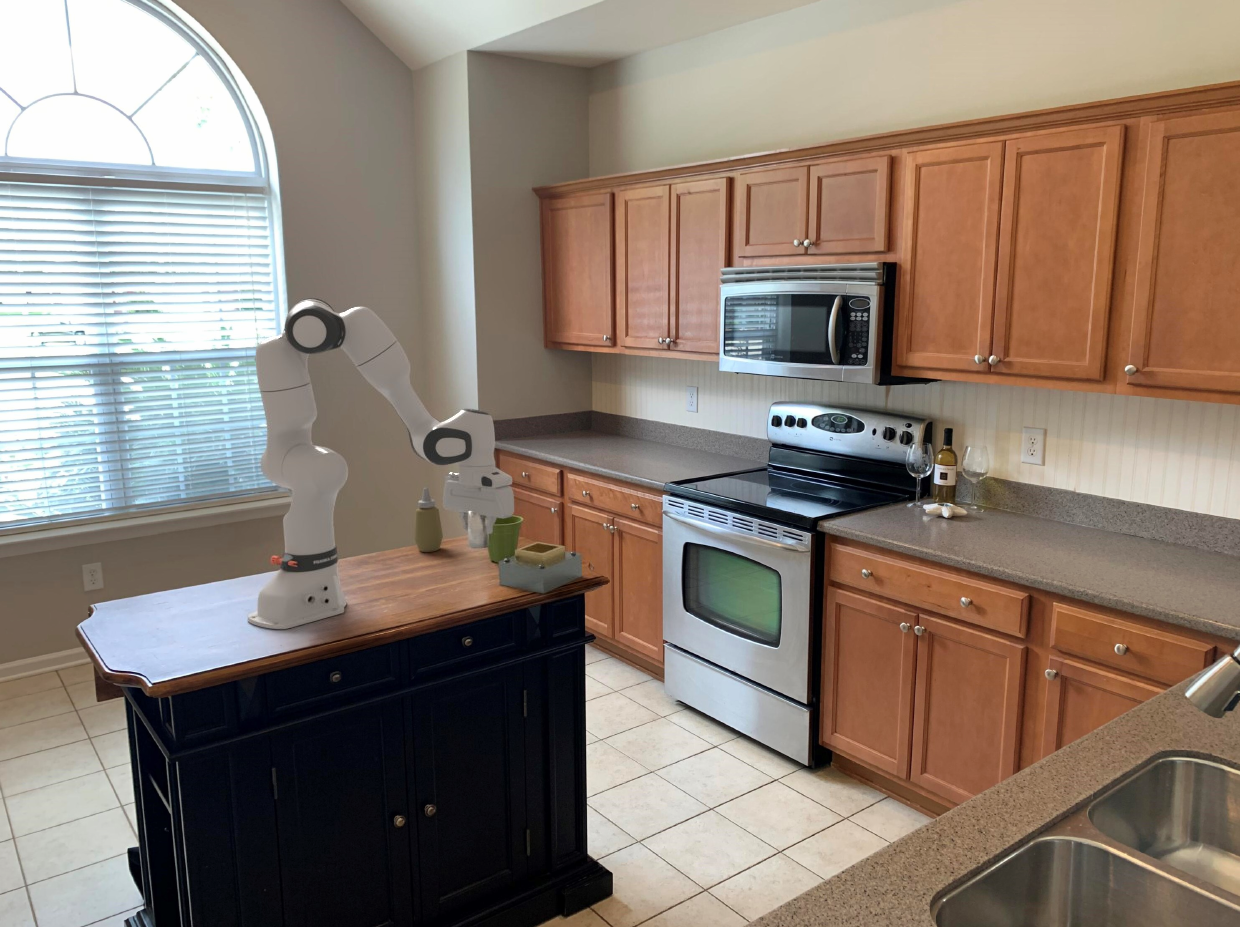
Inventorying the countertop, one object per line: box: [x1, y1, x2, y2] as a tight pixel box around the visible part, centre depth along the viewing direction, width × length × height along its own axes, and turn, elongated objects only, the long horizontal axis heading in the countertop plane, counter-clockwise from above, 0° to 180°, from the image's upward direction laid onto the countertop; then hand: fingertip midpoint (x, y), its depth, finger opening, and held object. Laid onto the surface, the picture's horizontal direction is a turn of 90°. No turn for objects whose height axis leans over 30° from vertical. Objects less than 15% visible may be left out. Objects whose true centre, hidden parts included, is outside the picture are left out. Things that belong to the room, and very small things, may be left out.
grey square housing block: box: [498, 541, 583, 594], centre depth 241 cm, size 16×14×8 cm
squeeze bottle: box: [413, 487, 444, 553], centre depth 270 cm, size 8×8×18 cm
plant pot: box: [486, 514, 524, 564], centre depth 260 cm, size 12×12×11 cm
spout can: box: [467, 511, 489, 550], centre depth 232 cm, size 5×5×11 cm
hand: (478, 531), depth 232 cm, fingers closed on spout can, 5 cm apart
